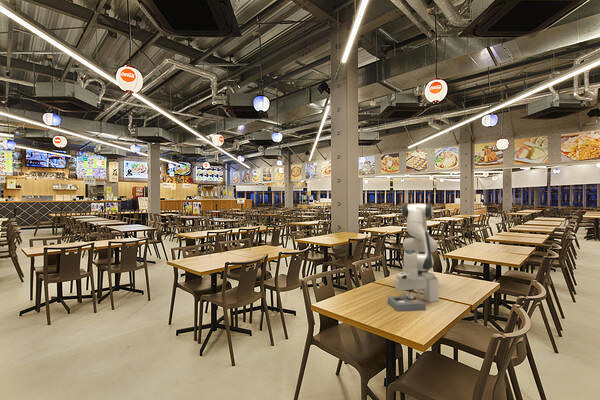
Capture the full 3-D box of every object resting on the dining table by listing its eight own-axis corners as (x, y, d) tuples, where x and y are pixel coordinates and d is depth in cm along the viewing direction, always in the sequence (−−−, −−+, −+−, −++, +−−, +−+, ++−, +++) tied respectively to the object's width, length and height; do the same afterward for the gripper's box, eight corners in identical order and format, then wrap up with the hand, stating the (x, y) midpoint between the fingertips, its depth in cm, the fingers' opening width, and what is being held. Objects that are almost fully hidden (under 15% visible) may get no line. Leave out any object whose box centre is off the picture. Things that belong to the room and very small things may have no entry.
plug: (407, 304, 191) (407, 288, 191) (412, 303, 192) (412, 288, 192) (409, 305, 188) (409, 290, 188) (415, 305, 188) (414, 290, 188)
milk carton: (430, 302, 194) (429, 274, 194) (422, 299, 201) (422, 271, 201) (438, 301, 196) (438, 273, 196) (431, 298, 203) (430, 271, 203)
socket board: (387, 302, 194) (387, 296, 195) (413, 301, 196) (413, 295, 196) (397, 311, 179) (397, 304, 179) (425, 310, 180) (425, 303, 180)
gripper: (423, 273, 194) (423, 293, 194) (394, 274, 192) (394, 295, 192) (428, 275, 188) (428, 296, 188) (398, 276, 186) (398, 298, 186)
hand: (411, 296), depth 190 cm, fingers open, 8 cm apart
